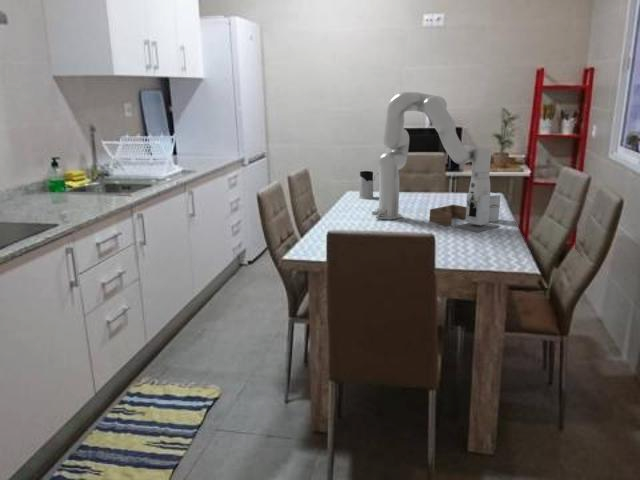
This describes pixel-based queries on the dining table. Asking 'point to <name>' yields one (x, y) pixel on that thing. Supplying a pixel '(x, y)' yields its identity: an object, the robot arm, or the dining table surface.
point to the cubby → (447, 214)
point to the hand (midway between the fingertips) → (477, 214)
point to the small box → (479, 211)
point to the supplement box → (494, 207)
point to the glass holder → (366, 184)
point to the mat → (477, 227)
